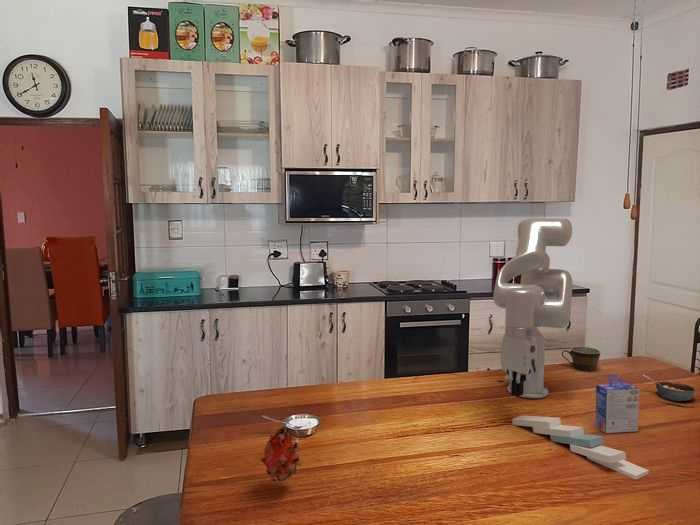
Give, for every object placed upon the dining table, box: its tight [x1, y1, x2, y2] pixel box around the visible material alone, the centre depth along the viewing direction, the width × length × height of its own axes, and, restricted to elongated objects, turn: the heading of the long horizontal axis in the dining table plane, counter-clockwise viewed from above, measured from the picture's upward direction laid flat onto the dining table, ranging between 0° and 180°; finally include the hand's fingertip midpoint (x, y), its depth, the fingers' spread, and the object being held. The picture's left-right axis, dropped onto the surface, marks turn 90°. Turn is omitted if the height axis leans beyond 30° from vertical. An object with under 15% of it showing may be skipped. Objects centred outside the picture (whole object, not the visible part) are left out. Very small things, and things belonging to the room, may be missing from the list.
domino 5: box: [586, 456, 650, 480], centre depth 120 cm, size 2×5×12 cm
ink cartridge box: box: [595, 375, 640, 434], centre depth 141 cm, size 10×6×14 cm, turn 98°
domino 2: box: [532, 424, 585, 437], centre depth 135 cm, size 2×5×12 cm
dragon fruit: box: [260, 427, 302, 482], centre depth 112 cm, size 8×8×12 cm
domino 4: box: [569, 444, 627, 463], centre depth 123 cm, size 2×5×12 cm
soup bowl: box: [642, 374, 699, 408], centre depth 163 cm, size 15×16×7 cm
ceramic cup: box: [561, 346, 601, 373], centre depth 189 cm, size 13×10×10 cm
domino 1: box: [511, 414, 562, 428], centre depth 141 cm, size 2×5×12 cm
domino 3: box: [549, 433, 605, 447], centre depth 130 cm, size 2×5×12 cm
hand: (517, 394), depth 146 cm, fingers closed
